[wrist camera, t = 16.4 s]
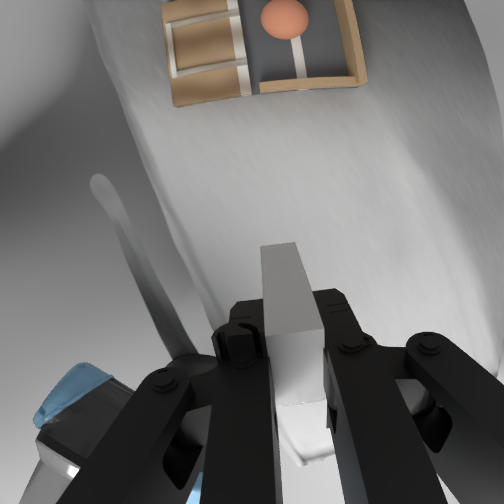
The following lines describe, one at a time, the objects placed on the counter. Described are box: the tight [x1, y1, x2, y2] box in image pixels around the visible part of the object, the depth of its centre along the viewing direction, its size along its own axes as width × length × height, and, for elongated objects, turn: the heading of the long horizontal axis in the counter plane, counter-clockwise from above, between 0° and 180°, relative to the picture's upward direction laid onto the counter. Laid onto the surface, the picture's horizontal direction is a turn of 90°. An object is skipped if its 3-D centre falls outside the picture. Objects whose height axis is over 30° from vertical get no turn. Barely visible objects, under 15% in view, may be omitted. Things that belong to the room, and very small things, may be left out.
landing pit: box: [237, 0, 368, 95], centre depth 30 cm, size 14×13×4 cm
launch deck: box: [161, 0, 252, 108], centre depth 31 cm, size 14×9×3 cm, turn 8°
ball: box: [261, 0, 309, 40], centre depth 29 cm, size 5×5×5 cm
